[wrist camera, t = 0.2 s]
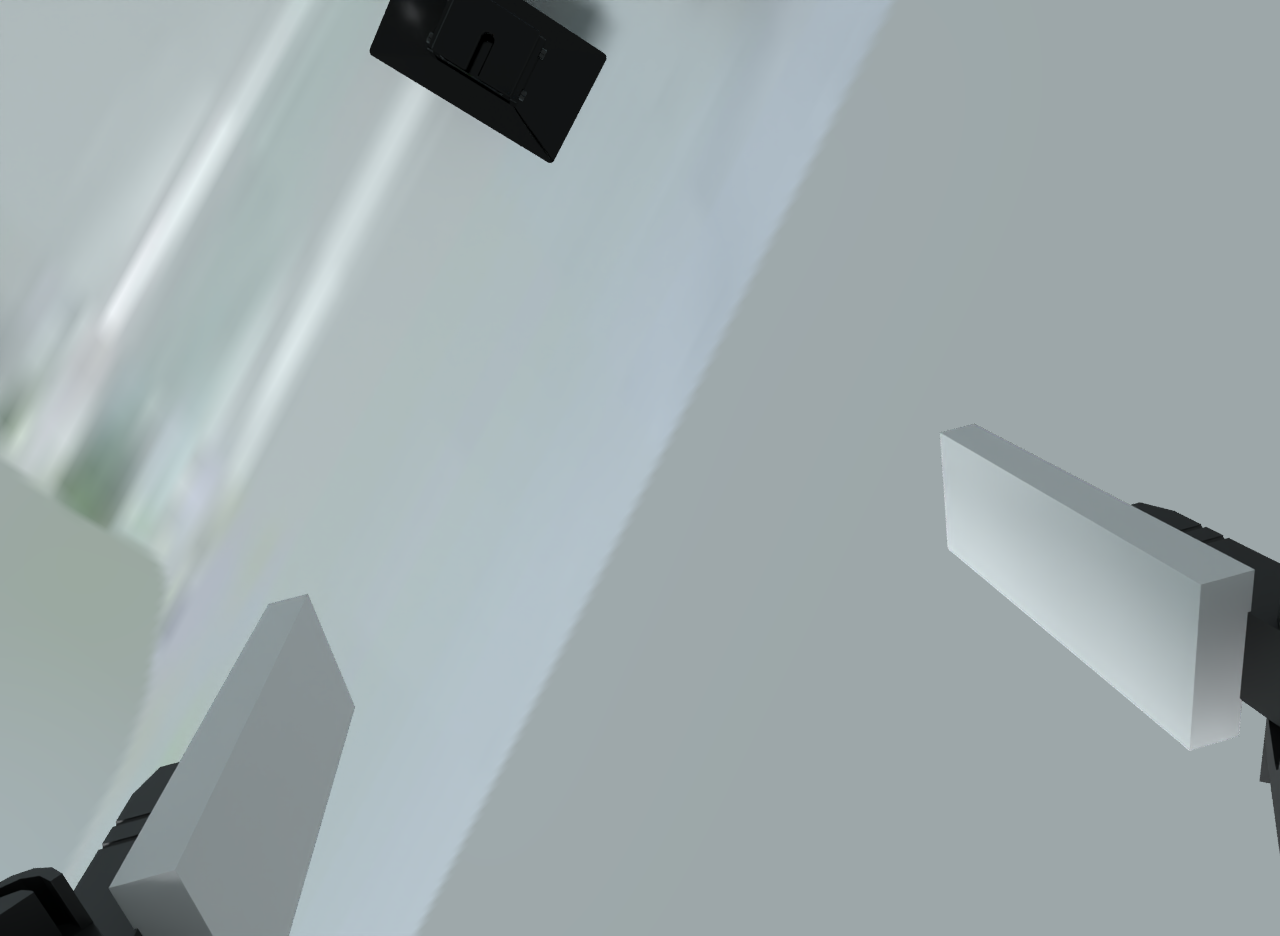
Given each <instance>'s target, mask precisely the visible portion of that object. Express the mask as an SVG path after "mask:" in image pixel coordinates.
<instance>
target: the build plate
mask: <svg viewBox="0 0 1280 936" xmlns="http://www.w3.org/2000/svg"><path fill="white" fill-rule="evenodd" d="M370 54H371V55H372V56H374V57H375V58H377V59H379V60H380V61H382V62H384V63H385V64H387V65H388V66H390V67H392V68H393V69H395V70H397V71H398V72H400V73H402V74H403V75H405V76H407V77H408V78H410V79H412V80H413V81H415V82H417V83H418V84H420V85H421V86H423V87H425V88H426V89H428V90H430V91H431V92H433V93H435V94H436V95H438V96H440V97H441V98H443V99H445V100H446V101H448V102H449V103H451V104H453V105H454V106H456V107H458V108H459V109H461V110H463V111H464V112H466V113H468V114H469V115H471V116H473V117H474V118H476V119H477V120H479V121H481V122H482V123H484V124H486V125H487V126H489V127H491V128H492V129H494V130H496V131H497V132H499V133H501V134H502V135H504V136H505V137H507V138H509V139H510V140H512V141H514V142H515V143H517V144H519V145H520V146H522V147H524V148H525V149H527V150H529V151H530V152H532V153H534V154H535V155H537V156H538V157H540V158H542V159H543V160H545V161H547V162H548V163H552V162H553V161H554V159H555V158H556V156H557V154H558V152H559V150H560V148H561V146H562V144H563V142H564V140H565V138H566V136H567V134H568V132H569V130H570V129H571V127H572V125H573V123H574V121H575V119H576V117H577V115H578V113H579V111H580V109H581V107H582V105H583V103H584V102H585V100H586V98H587V96H588V94H589V92H590V90H591V88H592V86H593V84H594V82H595V80H596V78H597V76H598V75H599V73H600V71H601V69H602V67H603V65H604V63H605V61H606V55H605V54H604V53H603V52H601V51H600V50H598V49H597V48H595V47H594V46H592V45H590V44H589V43H587V42H586V41H584V40H583V39H581V38H580V37H578V36H577V35H575V34H574V33H572V32H571V31H569V30H568V29H566V28H565V27H563V26H562V25H560V24H558V23H557V22H555V21H554V20H552V19H551V18H549V17H548V16H546V15H545V14H543V13H542V12H540V11H539V10H537V9H536V8H534V7H533V6H531V5H529V4H528V3H526V2H525V1H523V0H390V2H389V4H388V6H387V9H386V11H385V14H384V16H383V19H382V21H381V23H380V26H379V28H378V31H377V33H376V35H375V38H374V40H373V43H372V45H371V47H370Z"/></svg>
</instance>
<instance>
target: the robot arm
mask: <svg viewBox="0 0 1280 936" xmlns="http://www.w3.org/2000/svg"><path fill="white" fill-rule="evenodd" d="M940 440H941V455H942V469H943V485H944V499H945V513H946V529H947V543H948V549H949V550H950V551H951V552H953V553H954V554H955V555H956V556H957V557H959V558H960V559H961V560H962V561H964V562H965V563H966V564H967V565H968V566H969V567H971V568H972V569H973V570H974V571H975V572H977V573H978V574H979V575H980V576H981V577H982V578H984V579H985V580H986V581H987V582H989V583H990V584H991V585H992V586H993V587H994V588H996V589H997V590H998V591H999V592H1000V593H1002V594H1003V595H1004V596H1005V597H1006V598H1008V599H1009V600H1010V601H1011V602H1012V603H1014V604H1015V605H1016V606H1017V607H1018V608H1020V609H1021V610H1022V611H1023V612H1024V613H1026V614H1027V615H1028V616H1029V617H1030V618H1032V619H1033V620H1034V621H1035V622H1036V623H1037V624H1039V625H1040V626H1041V627H1042V628H1044V629H1045V630H1046V631H1047V632H1048V633H1049V634H1051V635H1052V636H1053V637H1054V638H1055V639H1057V640H1058V641H1059V642H1060V643H1061V644H1063V645H1064V646H1065V647H1066V648H1068V649H1069V650H1070V651H1071V652H1072V653H1073V654H1075V655H1076V656H1077V657H1078V658H1079V659H1081V660H1082V661H1083V662H1084V663H1085V664H1087V665H1088V666H1089V667H1090V668H1091V669H1093V670H1094V671H1095V672H1096V673H1097V674H1098V675H1100V676H1101V677H1102V678H1103V679H1105V680H1106V681H1107V682H1108V683H1109V684H1111V685H1112V686H1113V687H1114V688H1115V689H1117V690H1118V691H1119V692H1120V693H1121V694H1122V695H1124V696H1125V697H1126V698H1127V699H1129V700H1130V701H1131V702H1132V703H1133V704H1134V705H1136V706H1137V707H1138V708H1139V709H1140V710H1142V711H1143V712H1144V713H1145V714H1146V715H1148V716H1149V717H1150V718H1151V719H1152V720H1154V721H1155V722H1156V723H1157V724H1158V725H1159V726H1161V727H1162V728H1163V729H1165V730H1166V731H1167V732H1168V733H1169V734H1170V735H1171V736H1173V737H1174V738H1175V739H1176V740H1177V741H1179V742H1180V743H1181V744H1182V745H1183V746H1185V747H1186V748H1187V749H1189V750H1194V749H1197V748H1200V747H1204V746H1207V745H1211V744H1214V743H1217V742H1221V741H1224V740H1228V739H1231V738H1234V737H1237V736H1239V728H1240V718H1241V708H1242V701H1244V702H1245V703H1247V704H1248V705H1249V706H1251V707H1252V708H1254V709H1255V710H1256V711H1258V712H1259V713H1261V714H1262V715H1263V716H1265V717H1266V718H1267V720H1266V730H1265V738H1264V748H1263V756H1262V765H1261V775H1260V781H1261V782H1266V783H1270V784H1271V792H1272V799H1273V806H1274V813H1275V821H1276V828H1277V836H1278V844H1279V850H1280V563H1278V562H1276V561H1274V560H1272V559H1270V558H1268V557H1266V556H1264V555H1262V554H1260V553H1257V552H1256V551H1254V550H1252V549H1250V548H1247V547H1245V546H1244V545H1242V544H1240V543H1237V542H1236V541H1234V540H1232V539H1230V538H1227V539H1224V538H1223V535H1221V534H1219V533H1217V532H1215V531H1213V530H1211V529H1209V528H1207V527H1204V528H1202V526H1201V524H1199V523H1197V522H1195V521H1193V520H1191V519H1189V518H1187V517H1185V516H1183V515H1181V514H1179V513H1177V512H1175V511H1172V510H1168V509H1164V508H1160V507H1156V506H1152V505H1148V504H1144V503H1136V504H1132V505H1130V504H1128V503H1126V502H1124V501H1122V500H1120V499H1118V498H1116V497H1114V496H1112V495H1110V494H1109V493H1107V492H1105V491H1103V490H1101V489H1099V488H1097V487H1095V486H1093V485H1091V484H1089V483H1087V482H1086V481H1084V480H1082V479H1080V478H1078V477H1076V476H1074V475H1072V474H1070V473H1068V472H1066V471H1064V470H1062V469H1061V468H1059V467H1057V466H1055V465H1053V464H1051V463H1049V462H1047V461H1045V460H1043V459H1041V458H1039V457H1038V456H1036V455H1034V454H1032V453H1030V452H1028V451H1026V450H1024V449H1022V448H1020V447H1018V446H1016V445H1014V444H1013V443H1011V442H1009V441H1007V440H1005V439H1003V438H1001V437H999V436H997V435H995V434H993V433H991V432H990V431H988V430H986V429H984V428H982V427H980V426H978V425H976V424H971V425H967V426H964V427H960V428H956V429H952V430H948V431H944V432H940ZM354 708H355V706H354V703H353V701H352V699H351V696H350V694H349V691H348V689H347V687H346V684H345V682H344V679H343V677H342V675H341V672H340V670H339V667H338V665H337V663H336V660H335V658H334V655H333V653H332V651H331V648H330V646H329V643H328V641H327V639H326V636H325V634H324V631H323V629H322V627H321V624H320V622H319V619H318V617H317V615H316V612H315V610H314V607H313V605H312V603H311V600H310V598H309V595H308V594H306V595H302V596H298V597H294V598H290V599H287V600H283V601H279V602H275V603H271V604H268V606H267V608H266V610H265V611H264V613H263V615H262V617H261V618H260V620H259V622H258V624H257V626H256V627H255V629H254V631H253V633H252V634H251V636H250V638H249V640H248V642H247V643H246V645H245V647H244V649H243V650H242V652H241V654H240V656H239V657H238V659H237V661H236V663H235V665H234V666H233V668H232V670H231V672H230V673H229V675H228V677H227V679H226V681H225V682H224V684H223V686H222V688H221V689H220V691H219V693H218V695H217V697H216V698H215V700H214V702H213V704H212V705H211V707H210V709H209V711H208V713H207V714H206V716H205V718H204V720H203V721H202V723H201V725H200V727H199V729H198V730H197V732H196V734H195V736H194V737H193V739H192V741H191V743H190V744H189V746H188V748H187V750H186V752H185V753H184V755H183V757H182V759H181V760H180V762H178V763H174V764H170V765H166V766H163V767H160V768H159V769H158V770H157V771H156V772H155V773H154V774H153V775H152V776H151V777H150V778H149V779H148V780H147V781H146V782H145V783H144V784H143V785H142V786H141V787H140V788H139V789H138V790H136V791H135V792H134V793H133V794H132V796H131V798H130V799H129V801H128V803H127V804H126V806H125V808H124V809H123V811H122V812H121V814H120V816H119V817H118V819H117V821H116V826H115V827H112V829H111V831H110V832H109V834H108V835H107V837H106V839H105V840H104V842H103V844H102V845H103V849H100V850H98V852H97V853H96V855H95V857H94V858H93V860H92V862H91V863H90V865H89V867H88V868H87V870H86V871H85V873H84V875H83V876H82V878H81V880H80V881H79V883H78V885H77V886H76V888H75V890H74V891H73V890H72V888H71V887H70V885H69V883H68V882H67V880H66V879H65V877H64V876H63V874H62V873H60V872H59V871H57V870H55V869H54V868H52V867H50V868H34V869H31V870H28V871H25V872H22V873H19V874H16V875H13V876H11V877H9V878H7V879H5V880H3V881H1V882H0V936H289V933H290V930H291V926H292V923H293V919H294V916H295V912H296V909H297V905H298V902H299V899H300V895H301V892H302V888H303V885H304V881H305V878H306V874H307V871H308V867H309V864H310V861H311V857H312V854H313V850H314V847H315V843H316V840H317V836H318V833H319V829H320V826H321V823H322V819H323V816H324V812H325V809H326V805H327V802H328V798H329V795H330V791H331V788H332V785H333V781H334V778H335V774H336V771H337V767H338V764H339V760H340V757H341V753H342V750H343V746H344V743H345V740H346V736H347V733H348V729H349V726H350V722H351V719H352V715H353V712H354Z"/></svg>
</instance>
